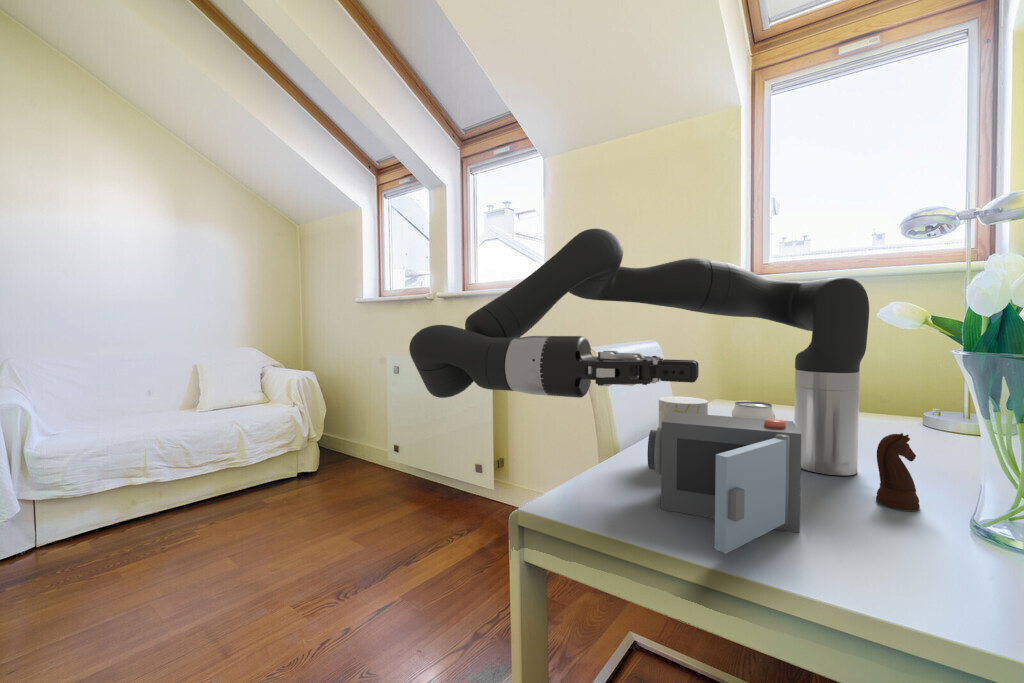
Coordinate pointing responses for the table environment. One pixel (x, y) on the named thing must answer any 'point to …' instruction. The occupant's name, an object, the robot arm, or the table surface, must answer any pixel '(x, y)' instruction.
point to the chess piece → (896, 474)
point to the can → (753, 410)
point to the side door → (751, 492)
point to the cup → (681, 406)
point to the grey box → (713, 458)
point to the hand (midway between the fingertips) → (697, 371)
